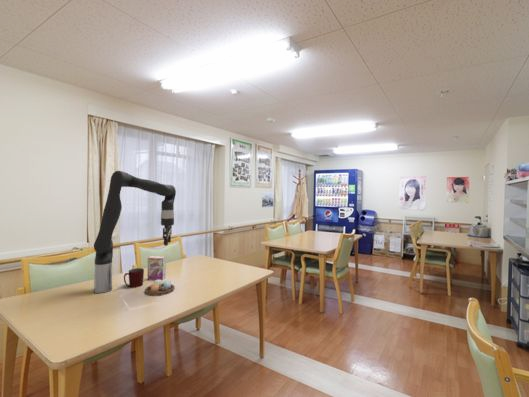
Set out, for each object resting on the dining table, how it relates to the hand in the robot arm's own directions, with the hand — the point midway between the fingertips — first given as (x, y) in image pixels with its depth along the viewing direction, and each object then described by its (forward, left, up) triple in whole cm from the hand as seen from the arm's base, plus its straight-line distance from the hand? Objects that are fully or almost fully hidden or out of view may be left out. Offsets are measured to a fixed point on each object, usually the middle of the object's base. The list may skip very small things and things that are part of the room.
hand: (167, 243), depth 163 cm
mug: (-14, +20, -30) cm, 39 cm away
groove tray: (-4, +2, -30) cm, 30 cm away
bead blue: (0, 0, -29) cm, 29 cm away
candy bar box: (+2, +26, -30) cm, 40 cm away
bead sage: (-4, +6, -29) cm, 30 cm away
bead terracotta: (-7, 0, -29) cm, 30 cm away
